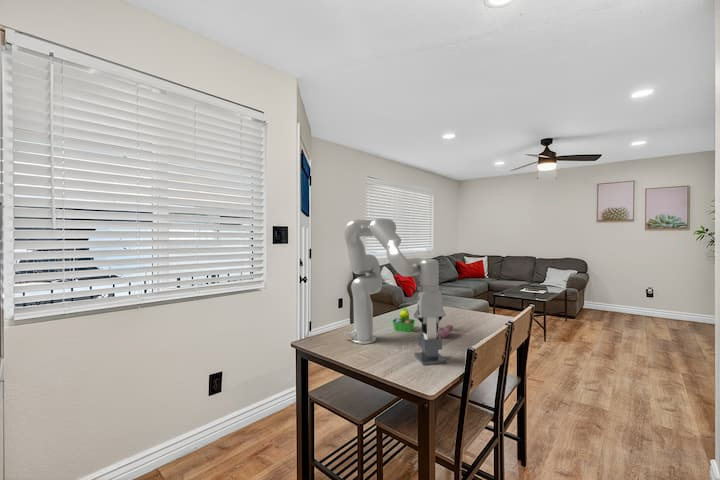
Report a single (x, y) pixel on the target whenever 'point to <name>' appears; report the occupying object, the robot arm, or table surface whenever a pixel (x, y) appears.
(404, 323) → the fruit basket
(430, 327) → the rail post
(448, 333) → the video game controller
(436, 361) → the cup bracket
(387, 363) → the table surface
